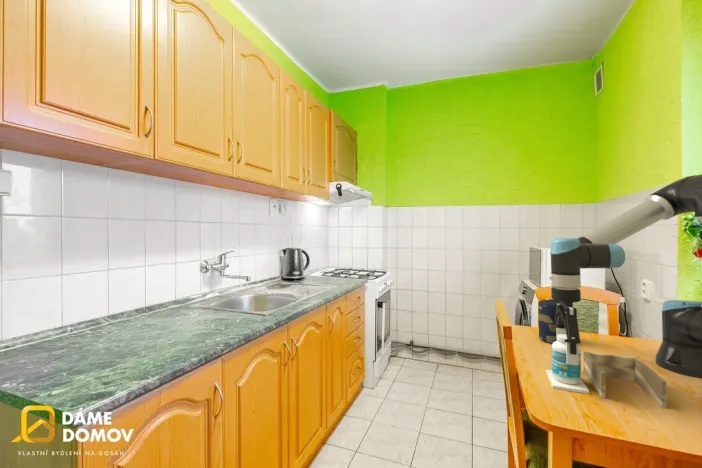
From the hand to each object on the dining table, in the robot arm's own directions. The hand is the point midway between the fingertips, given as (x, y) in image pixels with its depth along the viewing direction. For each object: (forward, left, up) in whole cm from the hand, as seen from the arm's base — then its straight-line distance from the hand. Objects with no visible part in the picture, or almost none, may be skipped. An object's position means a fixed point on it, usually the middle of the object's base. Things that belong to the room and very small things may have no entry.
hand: (566, 355), depth 98 cm
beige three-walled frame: (-14, -1, -8) cm, 16 cm away
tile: (0, 0, -8) cm, 8 cm away
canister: (-3, -41, -8) cm, 42 cm away
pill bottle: (0, 0, -8) cm, 8 cm away
